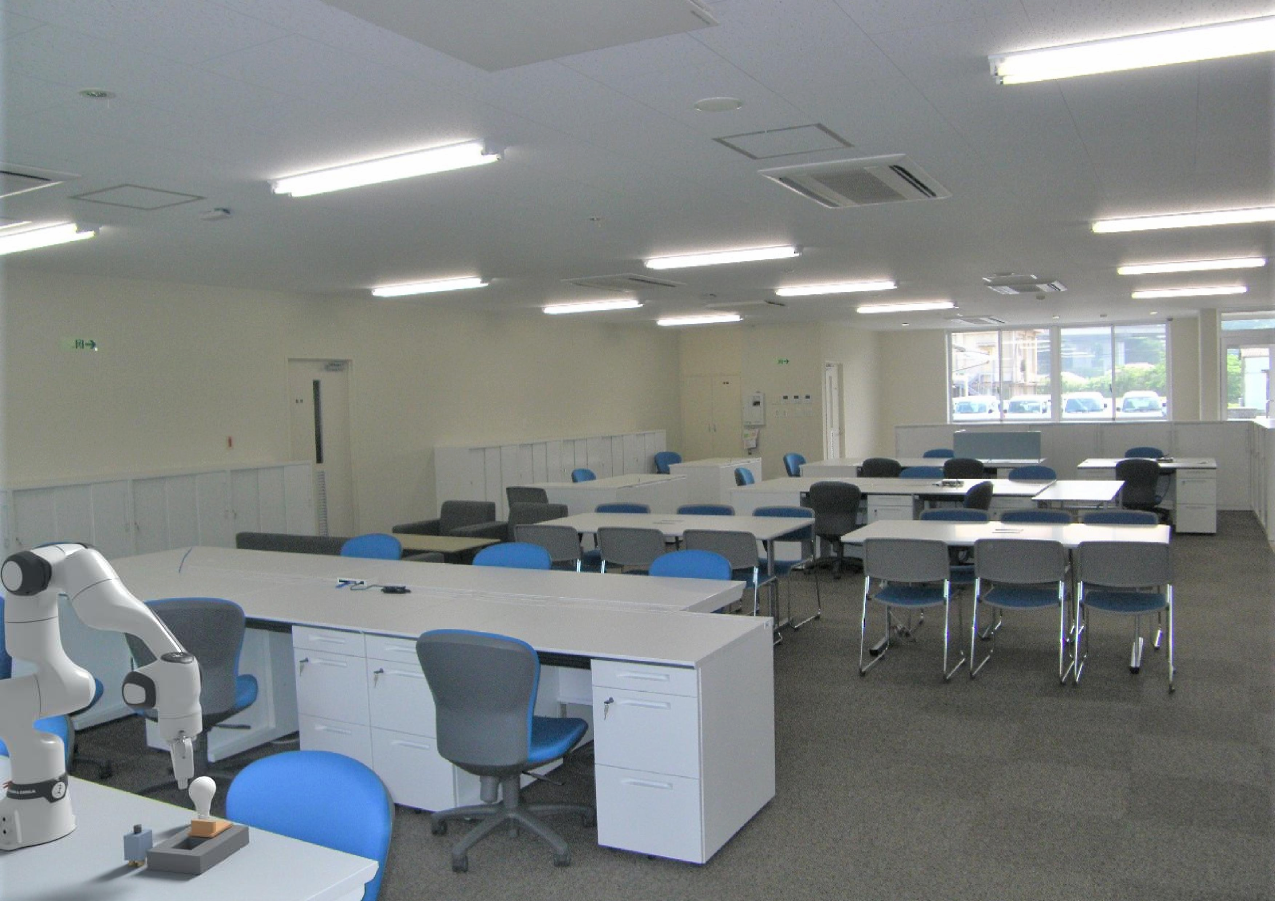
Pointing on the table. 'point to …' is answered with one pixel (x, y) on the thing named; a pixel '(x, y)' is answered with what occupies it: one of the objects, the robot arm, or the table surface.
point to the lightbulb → (202, 795)
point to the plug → (137, 845)
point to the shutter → (207, 827)
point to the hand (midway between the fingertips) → (182, 786)
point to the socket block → (196, 850)
